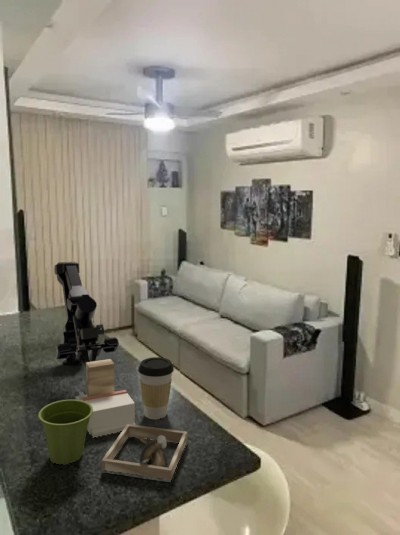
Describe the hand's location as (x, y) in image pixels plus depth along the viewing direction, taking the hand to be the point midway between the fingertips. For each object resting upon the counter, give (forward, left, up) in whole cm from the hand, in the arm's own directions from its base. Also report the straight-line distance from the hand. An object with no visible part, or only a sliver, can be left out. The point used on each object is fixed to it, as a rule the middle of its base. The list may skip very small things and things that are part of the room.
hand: (92, 373), depth 128 cm
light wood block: (+8, +6, -5) cm, 11 cm away
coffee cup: (+8, +22, -7) cm, 25 cm away
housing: (+11, +8, -6) cm, 15 cm away
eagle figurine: (+30, +28, -7) cm, 42 cm away
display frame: (+28, +26, -6) cm, 39 cm away
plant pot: (+32, +8, -7) cm, 33 cm away
